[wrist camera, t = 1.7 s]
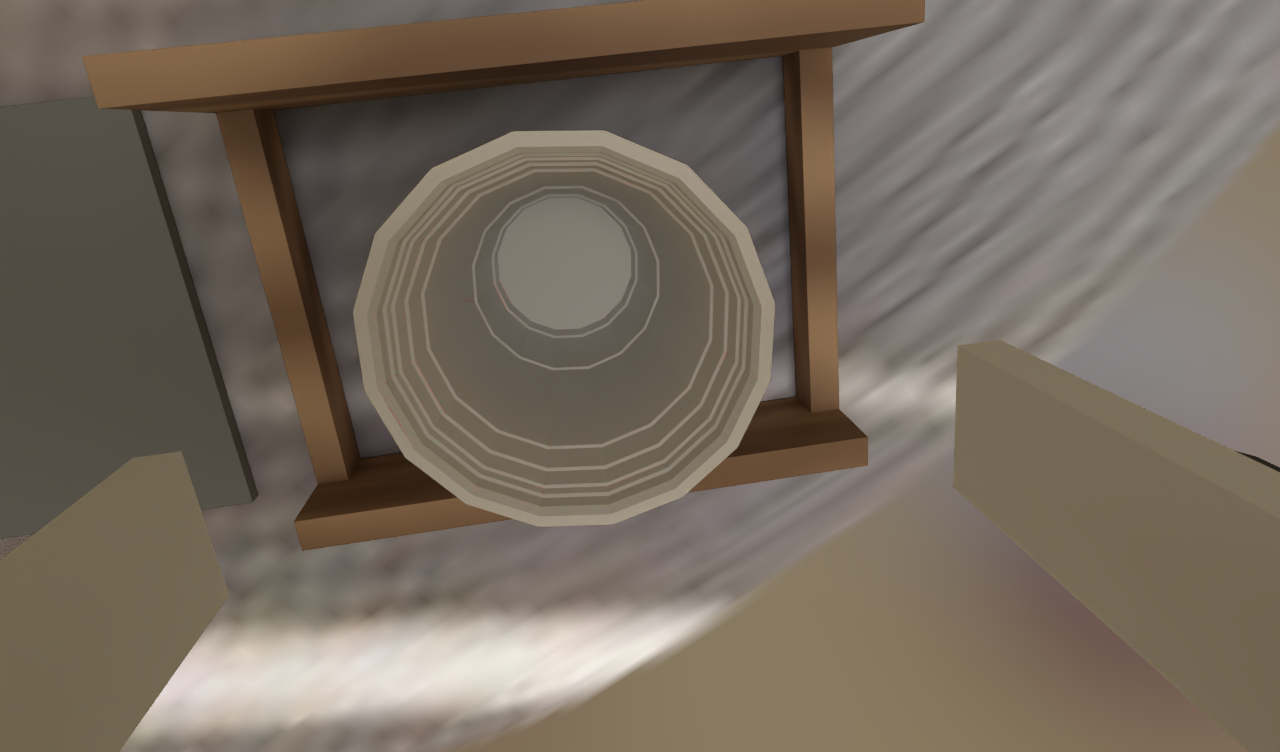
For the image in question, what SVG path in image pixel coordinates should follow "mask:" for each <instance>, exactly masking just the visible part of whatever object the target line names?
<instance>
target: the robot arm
mask: <svg viewBox="0 0 1280 752" xmlns="http://www.w3.org/2000/svg"><path fill="white" fill-rule="evenodd" d="M953 487H954V488H955V489H956V490H957V491H958V492H959V493H960V494H961V495H962V496H964V497H965V498H966V499H967V500H968V501H969V502H970V503H971V504H972V505H974V506H975V507H976V508H977V509H978V510H979V511H980V512H981V513H982V514H984V515H985V516H986V517H987V518H988V519H989V520H990V521H991V522H992V523H994V524H995V525H996V526H997V527H998V528H999V529H1000V530H1001V531H1002V532H1004V533H1005V534H1006V535H1007V536H1008V537H1009V538H1010V539H1011V540H1013V541H1014V542H1015V543H1016V544H1017V545H1018V546H1019V547H1020V548H1021V549H1023V550H1024V551H1025V552H1026V553H1027V554H1028V555H1029V556H1030V557H1031V558H1033V559H1034V560H1035V561H1036V562H1037V563H1038V564H1039V565H1040V566H1041V567H1043V568H1044V569H1045V570H1046V571H1047V572H1048V573H1049V574H1050V575H1051V576H1052V577H1054V578H1055V579H1056V580H1057V581H1058V582H1059V583H1060V584H1061V585H1063V586H1064V587H1065V588H1066V589H1067V590H1068V591H1069V592H1070V593H1072V594H1073V595H1074V596H1075V597H1076V598H1077V599H1078V600H1079V601H1080V602H1081V603H1083V604H1084V605H1085V606H1086V607H1087V608H1088V609H1089V610H1090V611H1091V612H1093V613H1094V614H1095V615H1096V616H1097V617H1098V618H1099V619H1100V620H1101V621H1103V622H1104V623H1105V624H1106V625H1107V626H1108V627H1109V628H1110V629H1111V630H1113V631H1114V632H1115V633H1116V634H1117V635H1118V636H1119V637H1120V638H1121V639H1123V640H1124V641H1125V642H1126V643H1127V644H1128V645H1129V646H1130V647H1131V648H1133V649H1134V650H1135V651H1136V652H1137V653H1138V654H1139V655H1140V656H1141V657H1143V658H1144V659H1145V660H1146V661H1147V662H1148V663H1149V664H1150V665H1151V666H1153V667H1154V668H1155V669H1156V670H1157V671H1158V672H1159V673H1160V674H1161V675H1163V676H1164V677H1165V678H1166V679H1167V680H1168V681H1169V682H1170V683H1172V684H1173V685H1174V686H1175V687H1176V688H1177V689H1178V690H1179V691H1180V692H1181V693H1183V694H1184V695H1185V696H1186V697H1187V698H1188V699H1189V700H1190V701H1191V702H1193V703H1194V704H1195V705H1196V706H1197V707H1198V708H1199V709H1200V710H1201V711H1203V712H1204V713H1205V714H1206V715H1207V716H1208V717H1209V718H1210V719H1212V720H1213V721H1214V722H1215V723H1216V724H1217V725H1218V726H1220V727H1221V728H1222V729H1223V730H1224V731H1225V732H1226V733H1227V734H1228V735H1229V736H1230V737H1232V738H1233V739H1234V740H1235V741H1236V742H1237V743H1238V744H1239V745H1240V746H1242V747H1243V748H1244V749H1245V750H1246V751H1247V752H1280V468H1279V467H1277V466H1275V465H1273V464H1271V463H1269V462H1267V461H1264V460H1262V459H1260V458H1258V457H1255V456H1252V455H1248V454H1245V453H1241V452H1237V451H1234V450H1232V449H1229V448H1227V447H1225V446H1223V445H1221V444H1219V443H1217V442H1215V441H1213V440H1210V439H1208V438H1206V437H1204V436H1202V435H1200V434H1197V433H1195V432H1193V431H1191V430H1189V429H1187V428H1185V427H1183V426H1181V425H1178V424H1177V423H1174V422H1172V421H1170V420H1168V419H1166V418H1164V417H1162V416H1160V415H1157V414H1155V413H1153V412H1151V411H1149V410H1147V409H1145V408H1142V407H1141V406H1139V405H1136V404H1134V403H1132V402H1130V401H1128V400H1126V399H1124V398H1121V397H1119V396H1117V395H1115V394H1113V393H1111V392H1109V391H1107V390H1105V389H1103V388H1100V387H1098V386H1096V385H1094V384H1092V383H1090V382H1088V381H1085V380H1083V379H1081V378H1079V377H1077V376H1075V375H1073V374H1071V373H1069V372H1067V371H1065V370H1062V369H1060V368H1058V367H1056V366H1054V365H1052V364H1050V363H1048V362H1045V361H1043V360H1041V359H1039V358H1037V357H1035V356H1033V355H1031V354H1029V353H1026V352H1024V351H1022V350H1020V349H1018V348H1016V347H1014V346H1012V345H1010V344H1007V343H1005V342H1003V341H1001V340H996V341H988V342H981V343H974V344H966V345H959V346H958V355H957V386H956V418H955V449H954V482H953ZM228 596H229V593H228V590H227V587H226V584H225V581H224V578H223V575H222V572H221V569H220V566H219V563H218V560H217V557H216V554H215V551H214V548H213V545H212V542H211V539H210V536H209V533H208V530H207V527H206V524H205V521H204V518H203V515H202V512H201V509H200V506H199V503H198V500H197V497H196V494H195V491H194V488H193V485H192V482H191V479H190V476H189V473H188V470H187V467H186V464H185V461H184V458H183V455H182V452H181V451H180V452H173V453H165V454H158V455H150V456H143V457H136V458H132V459H131V460H129V461H128V462H127V463H125V464H124V465H123V466H122V467H120V468H119V469H118V470H116V471H115V472H114V473H113V474H111V475H110V476H109V477H107V478H106V479H105V480H103V481H102V482H101V483H100V484H98V485H97V486H96V487H94V488H93V489H92V490H91V491H89V492H88V493H87V494H85V495H84V496H83V497H82V498H80V499H79V500H78V501H76V502H75V503H74V504H72V505H71V506H70V507H69V508H67V509H66V510H65V511H63V512H62V513H61V514H60V515H58V516H57V517H56V518H54V519H53V520H52V521H51V522H49V523H48V524H47V525H45V526H44V527H43V528H41V529H40V530H39V531H38V532H36V533H35V534H34V535H32V536H31V537H30V538H29V539H27V540H26V541H25V542H23V543H22V544H21V545H19V546H18V547H17V548H16V549H14V550H13V551H12V552H10V553H9V554H8V555H7V556H5V557H4V558H3V559H1V560H0V752H119V751H120V750H121V748H122V747H123V745H124V744H125V742H126V741H127V740H128V738H129V737H130V735H131V734H132V733H133V731H134V730H135V728H136V727H137V725H138V724H139V723H140V721H141V720H142V718H143V717H144V715H145V714H146V713H147V711H148V710H149V708H150V707H151V706H152V704H153V703H154V701H155V700H156V698H157V697H158V696H159V694H160V693H161V691H162V690H163V688H164V687H165V686H166V684H167V683H168V681H169V680H170V679H171V677H172V676H173V674H174V673H175V671H176V670H177V669H178V667H179V666H180V664H181V663H182V661H183V660H184V659H185V657H186V656H187V654H188V653H189V652H190V650H191V649H192V647H193V646H194V644H195V643H196V642H197V640H198V639H199V637H200V636H201V634H202V633H203V632H204V630H205V629H206V627H207V626H208V625H209V623H210V622H211V620H212V619H213V617H214V616H215V615H216V613H217V612H218V610H219V609H220V607H221V606H222V605H223V603H224V602H225V600H226V599H227V598H228Z"/></svg>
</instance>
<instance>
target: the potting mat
mask: <svg viewBox="0 0 1280 752" xmlns="http://www.w3.org/2000/svg"><path fill="white" fill-rule="evenodd" d="M180 451H181V452H182V455H183V458H184V461H185V464H186V467H187V470H188V473H189V476H190V479H191V482H192V485H193V488H194V491H195V494H196V497H197V500H198V503H199V506H200V509H201V510H203V509H209V508H216V507H223V506H230V505H237V504H244V503H251V502H253V501H254V500H255V498H256V497H257V496H258V495H257V491H256V488H255V485H254V481H253V478H252V475H251V472H250V468H249V465H248V462H247V459H246V455H245V452H244V449H243V445H242V442H241V439H240V436H239V432H238V429H237V426H236V422H235V419H234V416H233V413H232V409H231V406H230V403H229V400H228V396H227V393H226V390H225V386H224V383H223V380H222V377H221V373H220V370H219V367H218V364H217V360H216V357H215V354H214V350H213V347H212V344H211V341H210V337H209V334H208V331H207V328H206V324H205V321H204V318H203V314H202V311H201V308H200V305H199V301H198V298H197V295H196V292H195V288H194V285H193V282H192V278H191V275H190V272H189V269H188V265H187V262H186V259H185V256H184V252H183V249H182V246H181V242H180V239H179V236H178V233H177V229H176V226H175V223H174V220H173V216H172V213H171V210H170V206H169V203H168V200H167V197H166V193H165V190H164V187H163V184H162V180H161V177H160V174H159V170H158V167H157V164H156V161H155V157H154V154H153V151H152V148H151V144H150V141H149V138H148V134H147V131H146V128H145V125H144V121H143V118H142V115H141V112H140V110H122V109H99V108H98V105H97V102H96V99H95V97H89V98H80V99H70V100H60V101H51V102H41V103H31V104H22V105H12V106H2V107H0V539H3V538H10V537H17V536H24V535H30V534H35V533H36V532H38V531H39V530H40V529H41V528H43V527H44V526H45V525H47V524H48V523H49V522H51V521H52V520H53V519H54V518H56V517H57V516H58V515H60V514H61V513H62V512H63V511H65V510H66V509H67V508H69V507H70V506H71V505H72V504H74V503H75V502H76V501H78V500H79V499H80V498H82V497H83V496H84V495H85V494H87V493H88V492H89V491H91V490H92V489H93V488H94V487H96V486H97V485H98V484H100V483H101V482H102V481H103V480H105V479H106V478H107V477H109V476H110V475H111V474H113V473H114V472H115V471H116V470H118V469H119V468H120V467H122V466H123V465H124V464H125V463H127V462H128V461H129V460H131V459H132V458H136V457H143V456H150V455H158V454H165V453H173V452H180Z"/></svg>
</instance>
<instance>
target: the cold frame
mask: <svg viewBox="0 0 1280 752" xmlns="http://www.w3.org/2000/svg"><path fill="white" fill-rule="evenodd" d="M924 20H925V0H644V1H634V2H624V3H614V4H604V5H594V6H584V7H574V8H564V9H554V10H544V11H534V12H524V13H514V14H504V15H493V16H483V17H473V18H463V19H453V20H443V21H433V22H423V23H413V24H403V25H393V26H383V27H373V28H363V29H353V30H343V31H333V32H323V33H313V34H303V35H293V36H283V37H273V38H263V39H253V40H243V41H233V42H223V43H213V44H203V45H193V46H183V47H173V48H163V49H153V50H143V51H133V52H123V53H113V54H103V55H93V56H83V57H82V59H83V62H84V65H85V68H86V71H87V74H88V77H89V80H90V84H91V87H92V90H93V93H94V96H95V99H96V102H97V105H98V108H99V109H122V110H149V111H176V112H203V113H216V115H217V119H218V122H219V126H220V129H221V133H222V137H223V140H224V144H225V148H226V151H227V155H228V159H229V162H230V166H231V170H232V173H233V177H234V180H235V184H236V188H237V191H238V195H239V199H240V202H241V206H242V210H243V213H244V217H245V221H246V224H247V228H248V231H249V235H250V239H251V242H252V246H253V250H254V253H255V257H256V261H257V264H258V268H259V272H260V275H261V279H262V282H263V286H264V290H265V293H266V297H267V301H268V304H269V308H270V312H271V315H272V319H273V323H274V326H275V330H276V333H277V337H278V341H279V344H280V348H281V352H282V355H283V359H284V363H285V366H286V370H287V374H288V377H289V381H290V384H291V388H292V392H293V395H294V399H295V403H296V406H297V410H298V414H299V417H300V421H301V425H302V428H303V432H304V435H305V439H306V443H307V446H308V450H309V454H310V457H311V461H312V465H313V468H314V472H315V476H316V479H317V483H318V485H317V486H316V488H315V490H314V491H313V493H312V494H311V496H310V497H309V499H308V501H307V502H306V504H305V505H304V507H303V508H302V510H301V511H300V513H299V515H298V516H297V518H296V519H295V521H294V524H295V528H296V531H297V535H298V538H299V541H300V545H301V548H302V551H303V550H310V549H317V548H323V547H330V546H337V545H343V544H350V543H356V542H363V541H370V540H376V539H383V538H390V537H396V536H403V535H410V534H416V533H423V532H429V531H436V530H443V529H449V528H456V527H463V526H469V525H476V524H483V523H489V522H496V521H502V520H509V519H512V518H509V517H506V516H502V515H499V514H496V513H493V512H490V511H487V510H483V509H480V508H477V507H474V506H471V505H468V504H465V503H464V502H463V501H461V500H460V499H459V498H457V497H456V496H455V495H454V494H452V493H451V492H450V491H448V490H447V489H446V488H444V487H443V486H442V485H440V484H439V483H438V482H437V481H435V480H434V479H433V478H431V477H430V476H429V475H427V474H426V473H425V472H423V471H422V470H421V469H420V468H418V467H417V466H416V465H414V464H413V463H412V462H410V461H409V460H408V459H406V458H405V457H404V455H403V453H398V454H391V455H384V456H377V457H370V458H363V459H360V455H359V451H358V447H357V443H356V439H355V435H354V431H353V427H352V423H351V419H350V415H349V411H348V407H347V403H346V399H345V395H344V391H343V387H342V383H341V379H340V375H339V371H338V367H337V363H336V359H335V355H334V351H333V347H332V343H331V339H330V335H329V331H328V327H327V323H326V319H325V316H324V312H323V308H322V304H321V300H320V296H319V292H318V288H317V284H316V280H315V276H314V272H313V268H312V264H311V260H310V256H309V252H308V248H307V244H306V240H305V236H304V232H303V228H302V224H301V220H300V216H299V212H298V208H297V204H296V200H295V196H294V192H293V188H292V184H291V180H290V176H289V172H288V168H287V164H286V160H285V156H284V152H283V148H282V144H281V140H280V136H279V132H278V128H277V124H276V120H275V116H274V112H273V110H280V109H289V108H298V107H308V106H317V105H326V104H336V103H345V102H354V101H364V100H373V99H382V98H392V97H401V96H411V95H420V94H429V93H439V92H448V91H457V90H467V89H476V88H485V87H495V86H504V85H513V84H523V83H532V82H541V81H551V80H560V79H570V78H579V77H588V76H598V75H607V74H616V73H626V72H635V71H644V70H654V69H663V68H672V67H682V66H691V65H700V64H710V63H719V62H728V61H738V60H747V59H757V58H766V57H775V56H783V71H784V96H785V122H786V147H787V172H788V198H789V223H790V249H791V274H792V299H793V325H794V350H795V376H796V397H791V398H784V399H777V400H770V401H763V402H760V403H759V405H758V407H757V409H756V411H755V413H754V415H753V417H752V419H751V421H750V423H749V425H748V427H747V429H746V431H745V433H744V435H743V437H742V439H741V441H740V443H739V445H738V448H737V449H735V450H734V451H733V452H732V453H731V454H730V455H729V456H728V457H727V458H725V459H724V460H723V461H722V462H721V463H720V464H719V465H718V466H717V467H715V468H714V469H713V470H712V471H711V472H710V473H709V474H708V475H707V476H705V477H704V478H703V479H702V480H701V481H700V482H699V483H698V484H696V485H695V486H694V487H693V488H692V489H691V490H690V491H689V492H695V491H702V490H708V489H715V488H721V487H728V486H735V485H741V484H748V483H755V482H761V481H768V480H775V479H781V478H788V477H794V476H801V475H808V474H814V473H821V472H828V471H834V470H841V469H847V468H854V467H861V466H867V465H868V437H867V436H866V435H865V434H864V433H863V432H862V431H861V430H860V429H859V428H858V427H857V426H856V425H855V424H854V423H853V422H852V421H851V420H850V419H849V418H848V417H847V416H846V415H845V414H844V413H843V412H842V411H841V410H840V409H839V380H838V329H837V278H836V226H835V175H834V123H833V72H832V47H835V46H839V45H842V44H846V43H850V42H853V41H857V40H860V39H864V38H868V37H871V36H875V35H879V34H882V33H886V32H890V31H893V30H897V29H901V28H904V27H908V26H912V25H915V24H919V23H922V22H924Z"/></svg>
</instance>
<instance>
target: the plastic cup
mask: <svg viewBox="0 0 1280 752" xmlns="http://www.w3.org/2000/svg"><path fill="white" fill-rule="evenodd" d="M774 316H775V302H774V299H773V297H772V294H771V291H770V288H769V286H768V283H767V280H766V277H765V275H764V272H763V269H762V266H761V264H760V261H759V258H758V256H757V253H756V250H755V247H754V245H753V242H752V239H751V236H750V234H749V231H748V228H747V227H746V226H745V225H744V224H743V223H742V222H741V221H740V220H739V218H738V217H737V216H736V215H735V214H734V213H733V212H732V211H731V210H730V209H729V208H728V207H727V206H726V205H725V204H724V203H723V202H722V201H721V200H720V199H719V198H718V197H717V196H716V194H715V193H714V192H713V191H712V190H711V189H710V188H709V187H708V186H707V185H706V184H705V183H704V182H703V181H702V180H701V179H700V178H699V177H698V176H697V175H696V174H695V173H694V171H693V170H692V169H691V168H690V167H689V166H688V165H686V164H683V163H681V162H678V161H676V160H674V159H671V158H669V157H667V156H664V155H662V154H659V153H657V152H655V151H652V150H650V149H648V148H645V147H643V146H640V145H638V144H636V143H633V142H631V141H629V140H626V139H624V138H622V137H619V136H617V135H614V134H612V133H610V132H607V131H605V130H595V131H513V132H510V133H508V134H506V135H504V136H502V137H499V138H497V139H495V140H493V141H491V142H488V143H486V144H484V145H482V146H480V147H477V148H475V149H473V150H471V151H469V152H466V153H464V154H462V155H460V156H458V157H455V158H453V159H451V160H449V161H447V162H444V163H442V164H440V165H438V166H436V167H433V168H431V170H430V171H429V172H428V173H427V174H426V175H425V176H424V178H423V179H422V180H421V181H420V182H419V183H418V185H417V186H416V187H415V188H414V189H413V190H412V191H411V193H410V194H409V195H408V196H407V197H406V198H405V199H404V201H403V202H402V203H401V204H400V205H399V206H398V208H397V209H396V210H395V211H394V212H393V213H392V214H391V216H390V217H389V218H388V219H387V220H386V221H385V223H384V224H383V225H382V226H381V227H380V228H379V229H378V231H377V232H376V233H375V236H374V239H373V243H372V246H371V250H370V253H369V257H368V260H367V264H366V267H365V271H364V274H363V278H362V281H361V285H360V288H359V292H358V295H357V299H356V302H355V306H354V309H353V318H354V324H355V331H356V338H357V345H358V351H359V358H360V365H361V371H362V378H363V385H364V391H365V393H366V394H367V396H368V398H369V399H370V401H371V402H372V404H373V406H374V407H375V409H376V411H377V412H378V414H379V416H380V417H381V419H382V421H383V422H384V424H385V425H386V427H387V429H388V430H389V432H390V434H391V435H392V437H393V439H394V440H395V442H396V443H397V445H398V447H399V448H400V450H401V452H402V453H403V455H404V457H405V458H406V459H408V460H409V461H410V462H412V463H413V464H414V465H416V466H417V467H418V468H420V469H421V470H422V471H423V472H425V473H426V474H427V475H429V476H430V477H431V478H433V479H434V480H435V481H437V482H438V483H439V484H440V485H442V486H443V487H444V488H446V489H447V490H448V491H450V492H451V493H452V494H454V495H455V496H456V497H457V498H459V499H460V500H461V501H463V502H464V503H465V504H468V505H471V506H474V507H477V508H480V509H483V510H487V511H490V512H493V513H496V514H499V515H502V516H506V517H509V518H512V519H515V520H518V521H522V522H525V523H528V524H531V525H534V526H537V527H547V526H578V525H608V524H615V523H618V522H620V521H623V520H626V519H628V518H631V517H633V516H636V515H638V514H641V513H643V512H646V511H648V510H651V509H654V508H656V507H659V506H661V505H664V504H666V503H669V502H671V501H674V500H676V499H679V498H682V497H683V496H684V495H685V494H686V493H688V492H689V491H690V490H691V489H692V488H693V487H694V486H695V485H696V484H698V483H699V482H700V481H701V480H702V479H703V478H704V477H705V476H707V475H708V474H709V473H710V472H711V471H712V470H713V469H714V468H715V467H717V466H718V465H719V464H720V463H721V462H722V461H723V460H724V459H725V458H727V457H728V456H729V455H730V454H731V453H732V452H733V451H734V450H735V449H737V448H738V445H739V443H740V441H741V439H742V437H743V435H744V433H745V431H746V429H747V427H748V425H749V423H750V421H751V419H752V417H753V415H754V413H755V411H756V409H757V407H758V405H759V403H760V401H761V399H762V397H763V395H764V393H765V391H766V389H767V387H768V385H769V383H770V381H771V365H772V349H773V332H774Z"/></svg>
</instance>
